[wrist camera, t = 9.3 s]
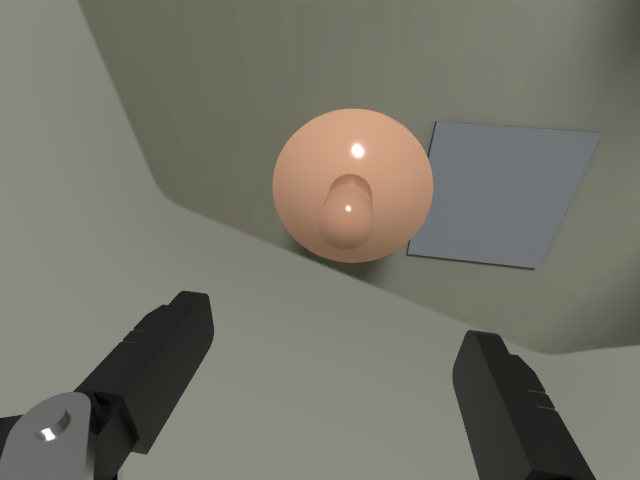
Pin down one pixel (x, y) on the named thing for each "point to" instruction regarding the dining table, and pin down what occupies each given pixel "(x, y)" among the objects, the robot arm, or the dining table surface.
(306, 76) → the dining table surface
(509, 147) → the mat
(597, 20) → the dining table surface
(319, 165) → the lid
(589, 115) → the dining table surface
